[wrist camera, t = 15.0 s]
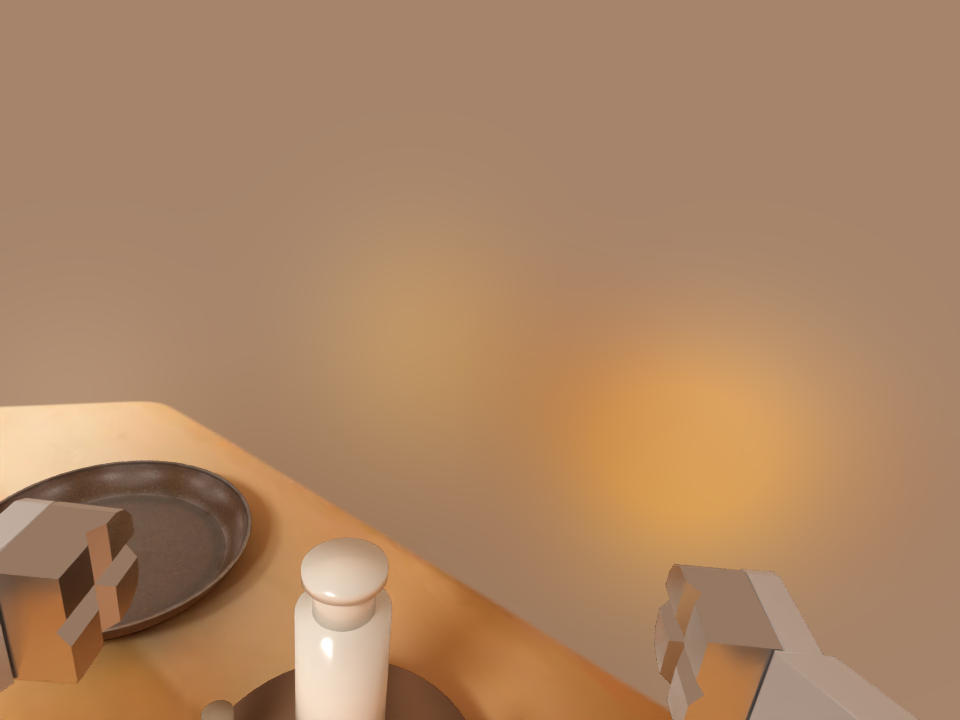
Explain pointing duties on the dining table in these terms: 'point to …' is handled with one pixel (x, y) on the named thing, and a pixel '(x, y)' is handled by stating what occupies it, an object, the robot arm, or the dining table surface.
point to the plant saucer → (161, 529)
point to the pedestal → (271, 707)
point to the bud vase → (342, 632)
